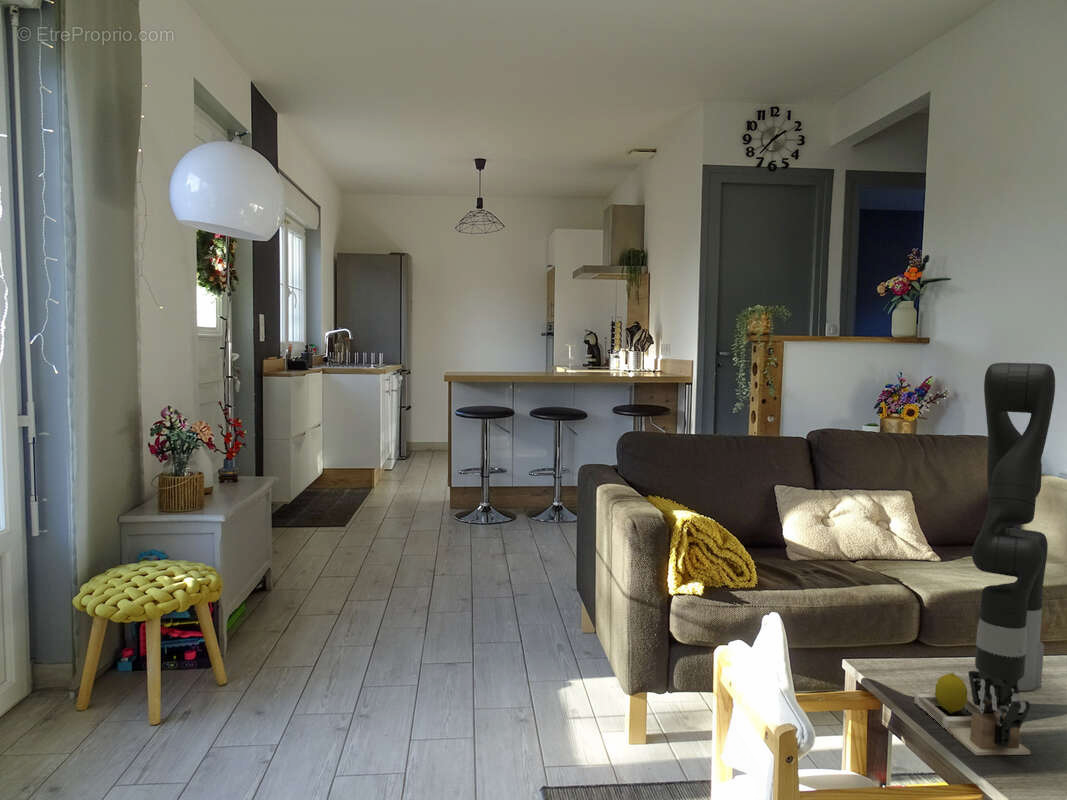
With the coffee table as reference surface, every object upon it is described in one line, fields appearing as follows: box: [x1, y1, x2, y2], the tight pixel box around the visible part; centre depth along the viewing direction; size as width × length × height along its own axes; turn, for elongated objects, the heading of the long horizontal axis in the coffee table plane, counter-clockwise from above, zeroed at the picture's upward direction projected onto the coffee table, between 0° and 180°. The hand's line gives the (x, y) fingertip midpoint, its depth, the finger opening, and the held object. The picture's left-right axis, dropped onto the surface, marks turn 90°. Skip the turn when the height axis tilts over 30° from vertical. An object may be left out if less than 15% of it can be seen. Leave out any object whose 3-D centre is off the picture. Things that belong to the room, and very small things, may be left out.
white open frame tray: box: [913, 693, 1031, 756], centre depth 145 cm, size 10×20×6 cm, turn 4°
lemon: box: [934, 672, 968, 714], centre depth 151 cm, size 6×6×8 cm
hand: (994, 739), depth 138 cm, fingers closed on white open frame tray, 3 cm apart
